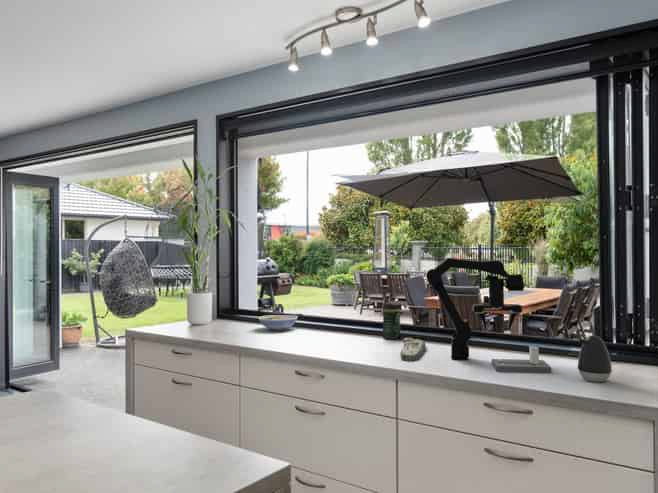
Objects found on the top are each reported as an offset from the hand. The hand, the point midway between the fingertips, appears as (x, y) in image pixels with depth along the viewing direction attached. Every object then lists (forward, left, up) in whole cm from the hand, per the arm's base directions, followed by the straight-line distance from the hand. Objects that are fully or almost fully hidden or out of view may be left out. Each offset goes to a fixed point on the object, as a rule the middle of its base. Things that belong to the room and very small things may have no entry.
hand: (497, 329), depth 204 cm
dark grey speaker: (+27, -30, -12) cm, 42 cm away
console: (+6, -15, -12) cm, 20 cm away
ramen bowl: (-111, +66, -12) cm, 130 cm away
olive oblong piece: (-34, +10, -13) cm, 38 cm away
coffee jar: (-45, +45, -12) cm, 65 cm away
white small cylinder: (+11, -15, -10) cm, 21 cm away
